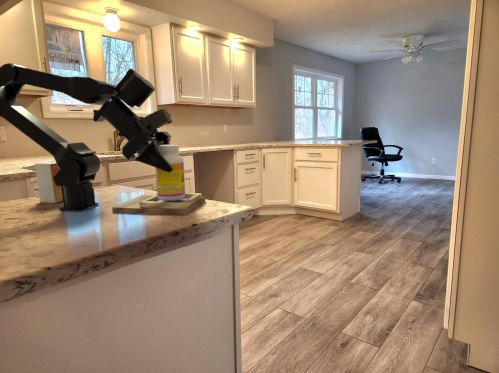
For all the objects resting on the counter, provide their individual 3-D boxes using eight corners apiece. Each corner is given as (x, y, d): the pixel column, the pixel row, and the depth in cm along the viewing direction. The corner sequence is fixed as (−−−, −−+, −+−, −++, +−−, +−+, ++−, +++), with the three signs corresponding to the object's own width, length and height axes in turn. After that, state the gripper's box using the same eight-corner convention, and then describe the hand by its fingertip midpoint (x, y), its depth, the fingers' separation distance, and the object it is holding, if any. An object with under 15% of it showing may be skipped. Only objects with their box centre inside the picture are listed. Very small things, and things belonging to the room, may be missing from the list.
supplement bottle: (187, 200, 75) (185, 145, 73) (158, 202, 73) (154, 146, 70) (183, 194, 81) (180, 144, 79) (156, 196, 79) (152, 144, 77)
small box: (55, 203, 83) (49, 163, 81) (39, 202, 85) (33, 163, 83) (80, 197, 91) (75, 160, 89) (65, 196, 92) (60, 160, 90)
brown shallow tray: (112, 212, 74) (111, 202, 73) (142, 199, 86) (141, 190, 86) (184, 215, 70) (184, 205, 70) (205, 201, 82) (204, 192, 82)
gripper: (132, 92, 64) (189, 147, 65) (161, 99, 82) (205, 142, 84) (97, 132, 65) (154, 185, 67) (133, 130, 84) (177, 172, 85)
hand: (175, 169), depth 76 cm, fingers closed on supplement bottle, 6 cm apart
